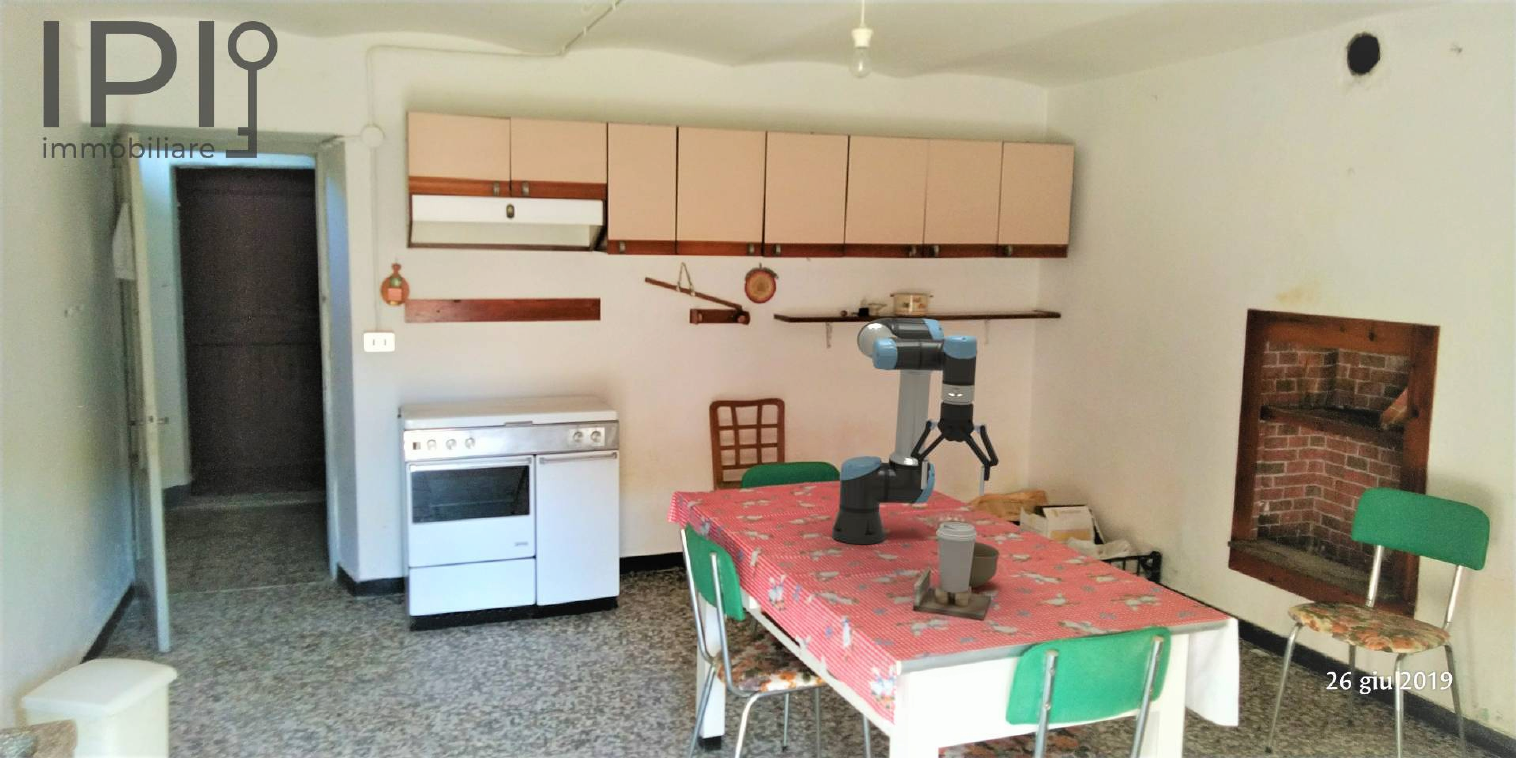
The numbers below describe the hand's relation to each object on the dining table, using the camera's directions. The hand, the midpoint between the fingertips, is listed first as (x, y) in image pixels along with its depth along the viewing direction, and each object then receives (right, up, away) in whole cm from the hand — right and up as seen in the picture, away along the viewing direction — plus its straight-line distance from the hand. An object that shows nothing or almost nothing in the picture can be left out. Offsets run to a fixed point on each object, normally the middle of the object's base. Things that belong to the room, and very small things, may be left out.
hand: (952, 491), depth 238 cm
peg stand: (0, -27, +1) cm, 27 cm away
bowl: (+8, -26, +16) cm, 31 cm away
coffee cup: (0, -23, 0) cm, 23 cm away
